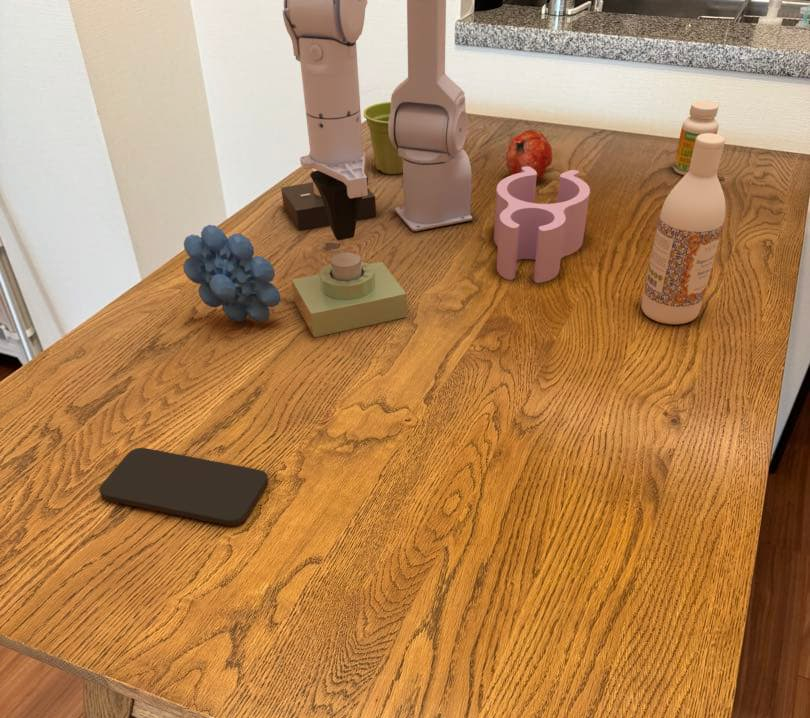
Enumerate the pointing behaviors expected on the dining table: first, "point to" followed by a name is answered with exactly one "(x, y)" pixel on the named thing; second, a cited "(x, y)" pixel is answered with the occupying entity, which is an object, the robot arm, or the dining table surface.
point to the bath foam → (687, 238)
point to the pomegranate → (529, 153)
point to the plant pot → (383, 139)
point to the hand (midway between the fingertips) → (344, 236)
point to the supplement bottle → (694, 132)
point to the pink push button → (346, 267)
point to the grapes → (230, 274)
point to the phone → (185, 486)
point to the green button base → (349, 299)
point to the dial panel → (317, 206)
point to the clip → (538, 223)
